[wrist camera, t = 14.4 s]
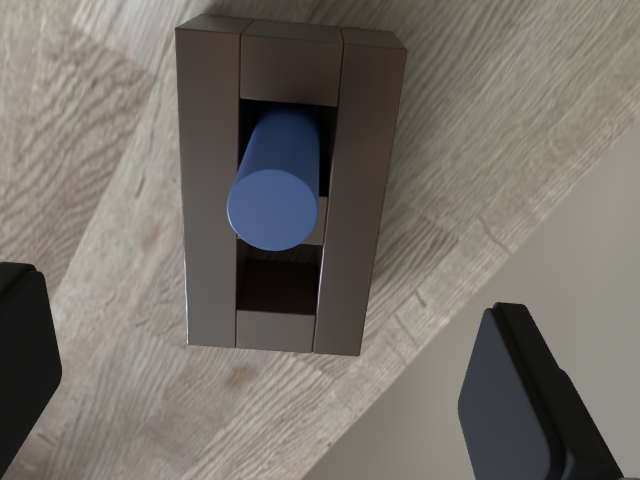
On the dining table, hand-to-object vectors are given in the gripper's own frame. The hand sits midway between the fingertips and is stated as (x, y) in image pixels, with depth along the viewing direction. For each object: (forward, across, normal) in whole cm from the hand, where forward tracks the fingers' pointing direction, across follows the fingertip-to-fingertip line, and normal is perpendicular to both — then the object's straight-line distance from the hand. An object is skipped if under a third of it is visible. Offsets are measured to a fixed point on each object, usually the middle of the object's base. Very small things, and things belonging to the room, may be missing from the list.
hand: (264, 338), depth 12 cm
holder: (+18, 0, +4) cm, 18 cm away
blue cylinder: (+18, +1, 0) cm, 18 cm away
